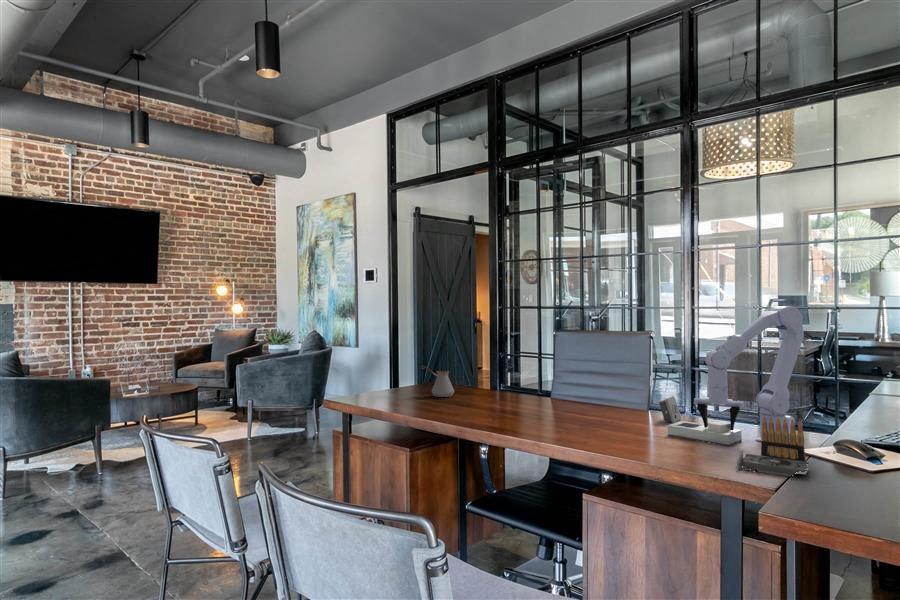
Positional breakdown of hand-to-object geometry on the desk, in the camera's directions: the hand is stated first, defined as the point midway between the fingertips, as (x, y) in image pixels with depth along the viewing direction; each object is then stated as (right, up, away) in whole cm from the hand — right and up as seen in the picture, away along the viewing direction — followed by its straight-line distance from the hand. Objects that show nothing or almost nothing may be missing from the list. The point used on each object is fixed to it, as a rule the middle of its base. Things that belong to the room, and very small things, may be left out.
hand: (718, 428), depth 177 cm
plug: (0, -4, 0) cm, 4 cm away
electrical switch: (-3, -5, +31) cm, 32 cm away
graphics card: (-2, -4, -33) cm, 33 cm away
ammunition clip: (+7, -4, -23) cm, 25 cm away
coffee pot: (-95, -7, +99) cm, 137 cm away
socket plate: (-3, -4, +4) cm, 6 cm away
